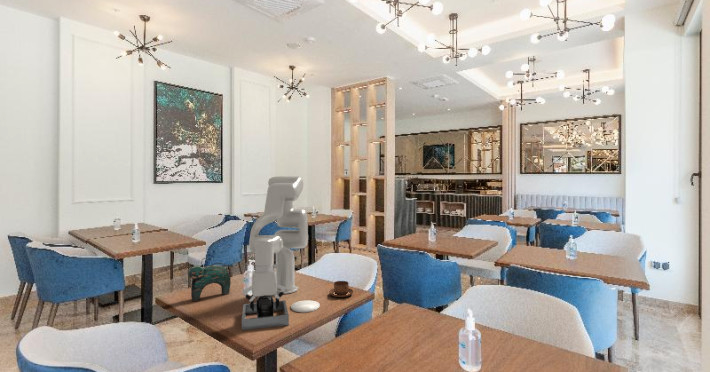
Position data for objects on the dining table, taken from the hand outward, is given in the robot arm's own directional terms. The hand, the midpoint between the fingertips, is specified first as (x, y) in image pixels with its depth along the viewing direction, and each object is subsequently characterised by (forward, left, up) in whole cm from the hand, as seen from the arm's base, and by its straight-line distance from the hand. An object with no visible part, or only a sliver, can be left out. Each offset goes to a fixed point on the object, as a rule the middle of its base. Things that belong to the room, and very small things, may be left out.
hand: (264, 308), depth 151 cm
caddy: (0, 0, -4) cm, 4 cm away
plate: (-9, +18, -4) cm, 21 cm away
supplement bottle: (0, 0, -5) cm, 5 cm away
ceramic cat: (-36, -26, -5) cm, 45 cm away
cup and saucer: (-21, +38, -5) cm, 44 cm away
